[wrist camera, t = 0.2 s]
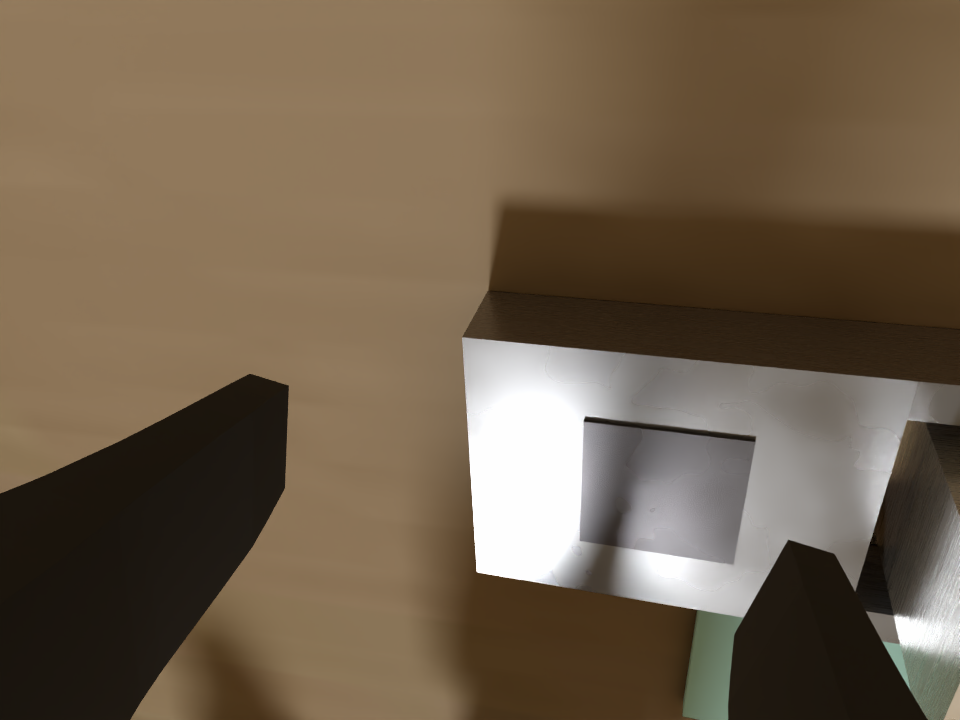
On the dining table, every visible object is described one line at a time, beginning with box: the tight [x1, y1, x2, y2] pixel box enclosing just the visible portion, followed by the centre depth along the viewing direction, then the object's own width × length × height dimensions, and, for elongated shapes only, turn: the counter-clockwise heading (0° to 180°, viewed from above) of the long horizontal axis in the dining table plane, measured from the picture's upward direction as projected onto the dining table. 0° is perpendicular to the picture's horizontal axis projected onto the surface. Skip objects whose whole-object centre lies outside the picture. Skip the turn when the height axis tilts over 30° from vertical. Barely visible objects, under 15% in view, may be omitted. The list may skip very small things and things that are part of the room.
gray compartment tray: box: [462, 291, 960, 644], centre depth 20 cm, size 8×20×3 cm, turn 93°
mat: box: [683, 610, 911, 720], centre depth 25 cm, size 7×7×1 cm
